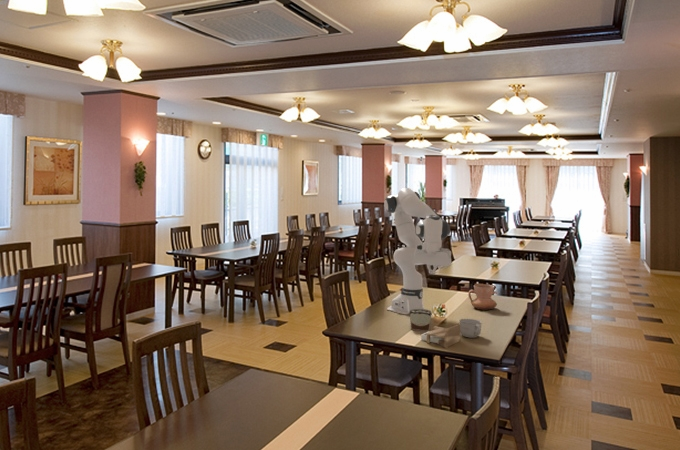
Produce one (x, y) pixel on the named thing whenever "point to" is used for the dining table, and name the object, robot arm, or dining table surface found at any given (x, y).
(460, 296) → the dining table surface
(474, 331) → the teacup
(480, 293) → the ceramic jug
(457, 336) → the tan notched block
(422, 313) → the food container
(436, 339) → the tray
